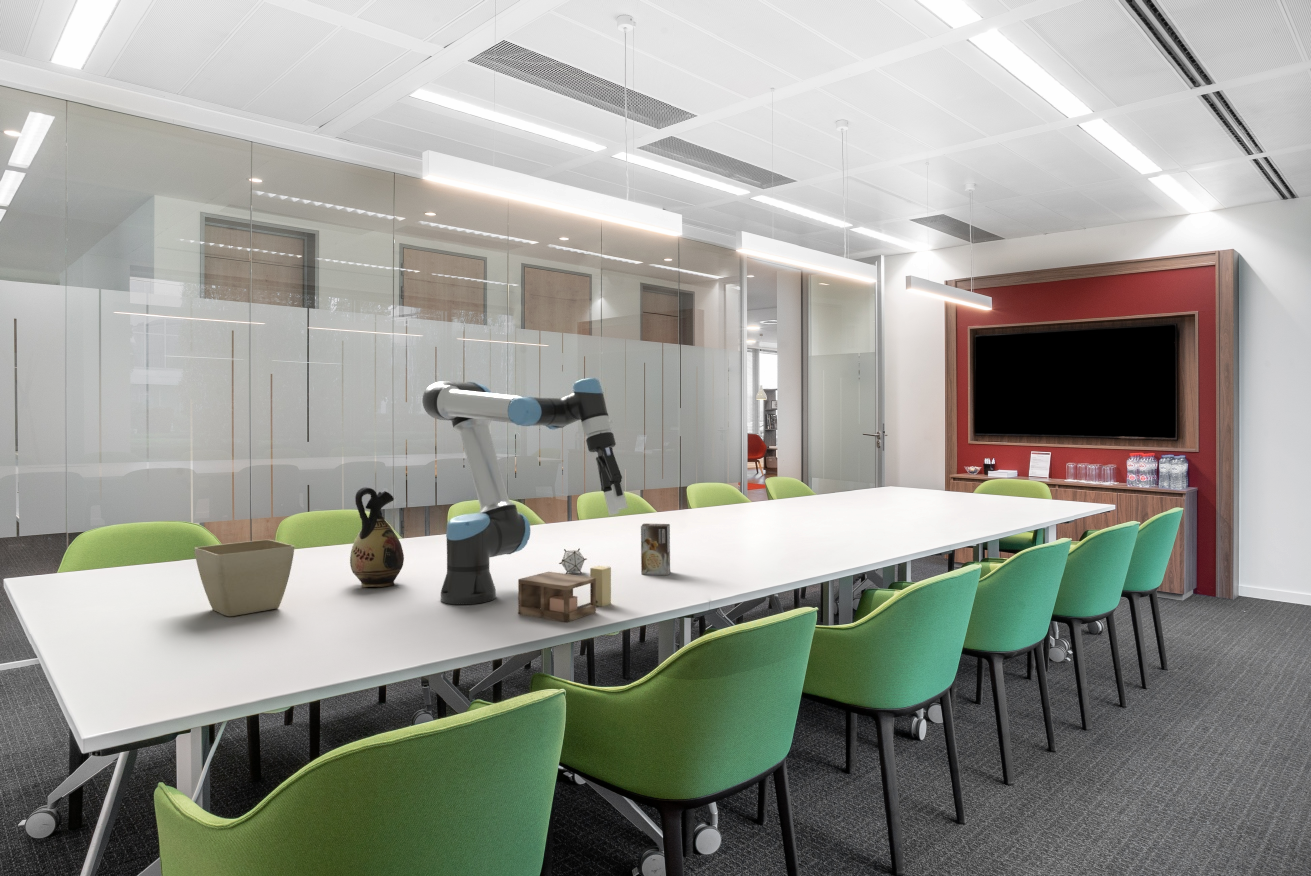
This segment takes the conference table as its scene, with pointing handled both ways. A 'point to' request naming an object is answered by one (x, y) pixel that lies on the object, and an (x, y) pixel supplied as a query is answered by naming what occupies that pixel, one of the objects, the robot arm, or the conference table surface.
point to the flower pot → (245, 575)
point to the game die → (572, 561)
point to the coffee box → (655, 549)
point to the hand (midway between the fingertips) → (618, 511)
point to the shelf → (549, 584)
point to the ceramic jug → (375, 543)
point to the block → (602, 591)
